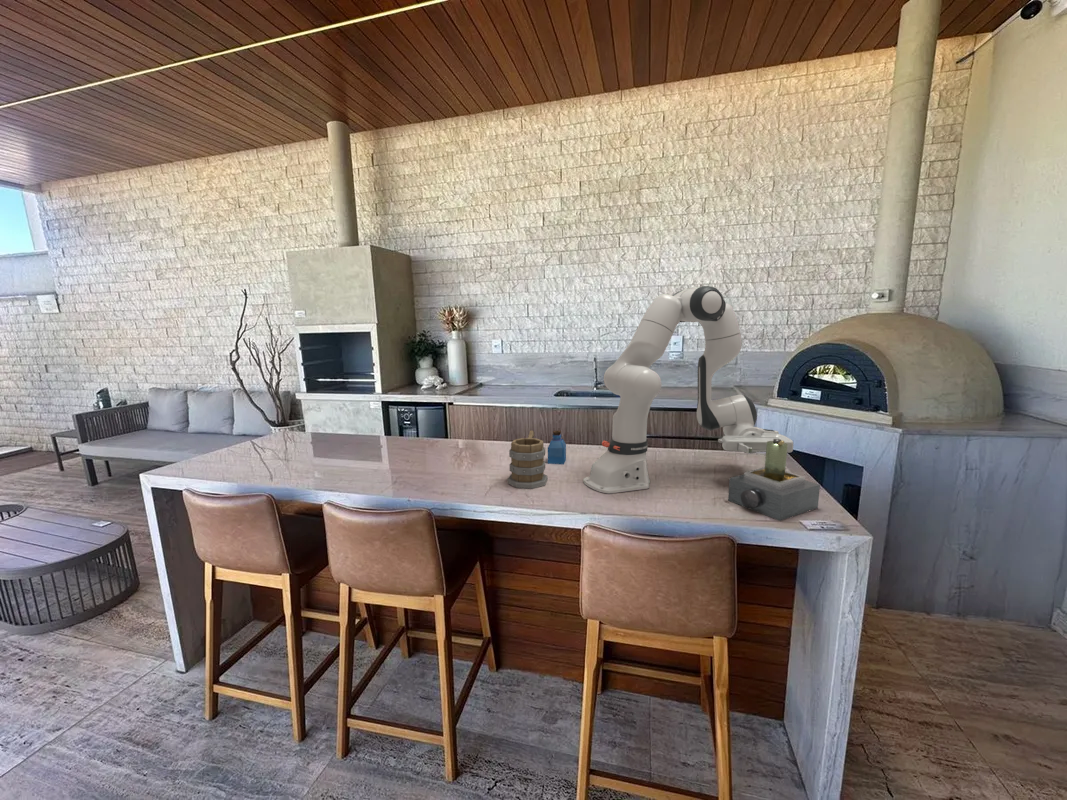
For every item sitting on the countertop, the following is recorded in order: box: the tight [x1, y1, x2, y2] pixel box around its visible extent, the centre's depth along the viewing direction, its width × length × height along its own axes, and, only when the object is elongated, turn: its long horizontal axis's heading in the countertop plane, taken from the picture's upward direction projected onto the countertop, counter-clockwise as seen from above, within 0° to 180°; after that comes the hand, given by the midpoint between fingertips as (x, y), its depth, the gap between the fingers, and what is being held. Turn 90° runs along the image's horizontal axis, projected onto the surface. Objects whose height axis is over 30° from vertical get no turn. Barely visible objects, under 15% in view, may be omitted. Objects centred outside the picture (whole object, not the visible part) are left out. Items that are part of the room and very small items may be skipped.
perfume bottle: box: [547, 429, 567, 465], centre depth 168 cm, size 6×6×12 cm
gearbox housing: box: [727, 466, 821, 522], centre depth 126 cm, size 19×16×9 cm
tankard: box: [507, 430, 548, 490], centre depth 149 cm, size 20×13×15 cm, turn 170°
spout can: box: [764, 439, 788, 482], centre depth 124 cm, size 6×5×13 cm
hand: (766, 450), depth 131 cm, fingers open, 8 cm apart
